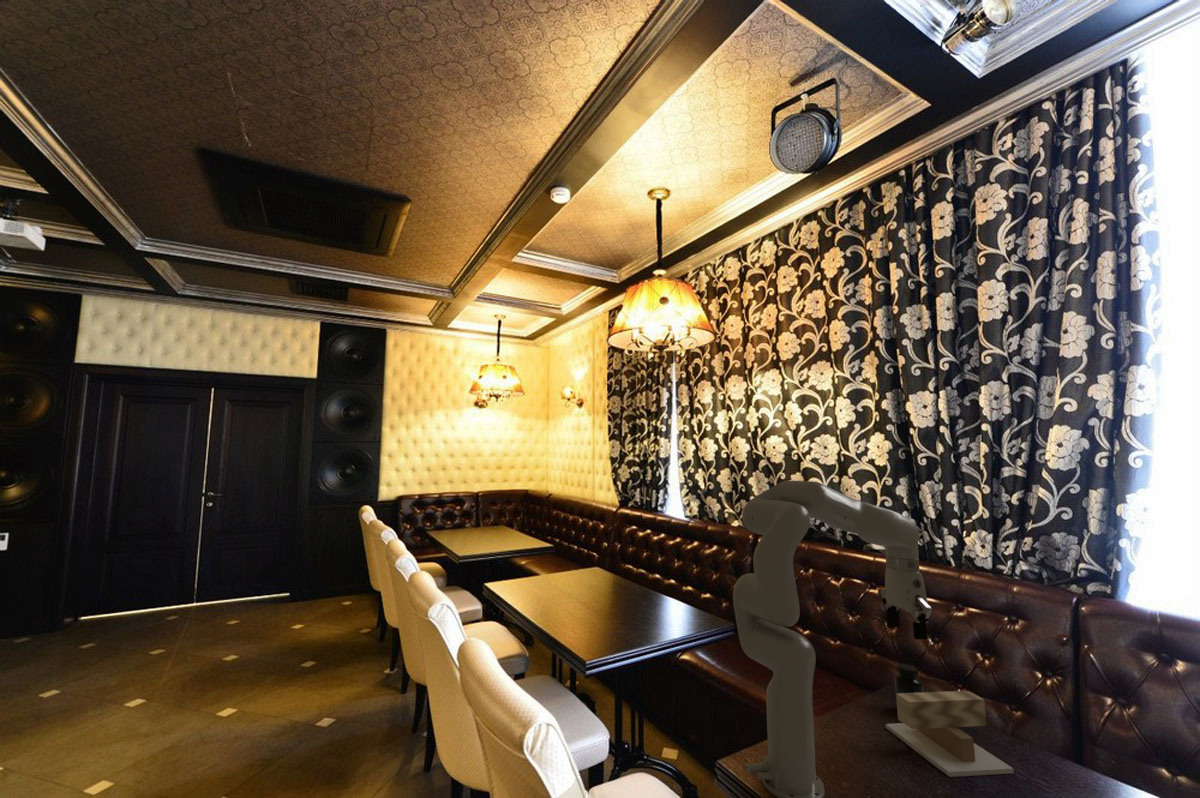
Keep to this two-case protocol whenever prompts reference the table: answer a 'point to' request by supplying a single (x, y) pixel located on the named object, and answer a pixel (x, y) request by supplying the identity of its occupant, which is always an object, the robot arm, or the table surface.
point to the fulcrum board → (948, 758)
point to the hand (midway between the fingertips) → (906, 632)
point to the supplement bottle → (907, 680)
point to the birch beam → (941, 709)
